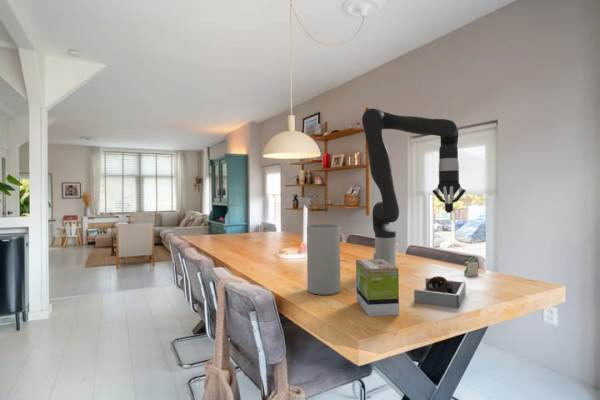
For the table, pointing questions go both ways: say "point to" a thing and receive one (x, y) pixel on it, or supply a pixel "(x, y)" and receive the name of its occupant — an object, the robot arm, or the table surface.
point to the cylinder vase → (323, 259)
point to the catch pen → (442, 295)
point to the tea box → (377, 287)
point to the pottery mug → (439, 285)
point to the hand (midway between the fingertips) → (449, 212)
